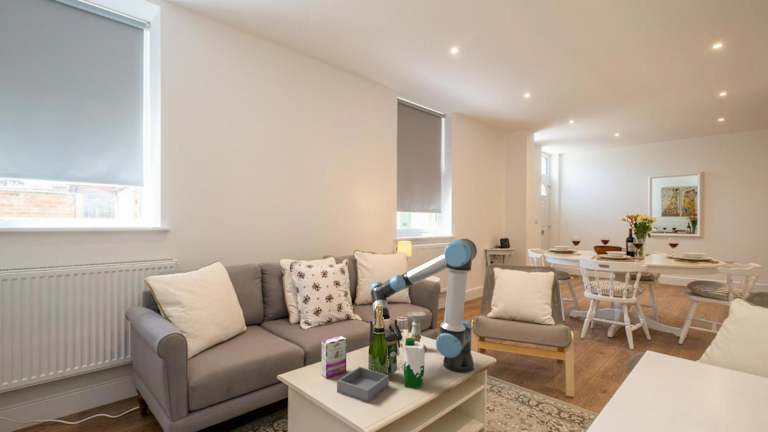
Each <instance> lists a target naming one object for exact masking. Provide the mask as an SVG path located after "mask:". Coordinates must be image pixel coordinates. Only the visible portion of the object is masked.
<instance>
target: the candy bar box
mask: <svg viewBox="0 0 768 432" xmlns="http://www.w3.org/2000/svg"><path fill="white" fill-rule="evenodd" d="M346 373H347V338H346V337H344V336H343V335H339V336H335V337H331V338H328V339H322V340H321V376H322V377H323V378H325V379H330V378H332V377H333V378H334V377H336V376H340V375H342V374H346Z"/></svg>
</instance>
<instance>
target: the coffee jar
mask: <svg viewBox="0 0 768 432" xmlns="http://www.w3.org/2000/svg"><path fill="white" fill-rule="evenodd" d="M394 332H395V331H394ZM394 332H392V331H389V330H387V329H386V330H385V338H386V341H387V345H388V356H389V357H388V359H389V367H388V374H387V375H391V374H394V373H396V372H397V371H398V359H397V357H398V356H397V352H396V347H397V341H398V338H397V336H398V335H397V333H396V332H395V333H394Z"/></svg>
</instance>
